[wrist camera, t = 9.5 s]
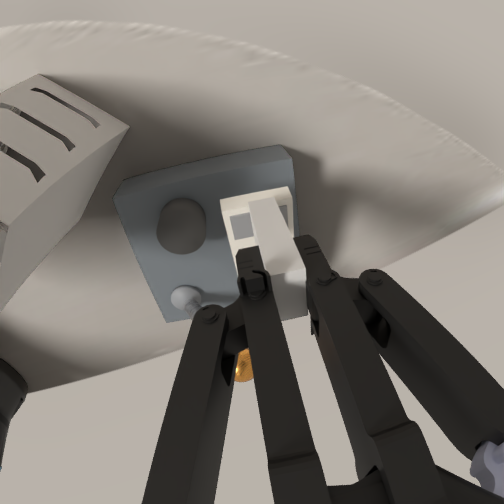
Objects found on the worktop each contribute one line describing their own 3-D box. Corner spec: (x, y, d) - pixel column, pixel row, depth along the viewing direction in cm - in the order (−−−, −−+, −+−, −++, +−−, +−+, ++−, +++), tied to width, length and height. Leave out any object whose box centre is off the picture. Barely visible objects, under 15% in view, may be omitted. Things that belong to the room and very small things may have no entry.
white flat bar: (243, 295, 28) (246, 308, 27) (219, 199, 20) (221, 213, 19) (291, 285, 28) (295, 297, 27) (287, 186, 20) (293, 198, 19)
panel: (168, 296, 34) (165, 338, 29) (123, 179, 25) (105, 211, 20) (294, 270, 34) (309, 310, 29) (280, 144, 26) (299, 167, 21)
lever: (180, 318, 28) (239, 394, 21) (171, 298, 27) (232, 376, 19) (203, 305, 29) (268, 375, 22) (196, 285, 28) (264, 355, 20)
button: (167, 243, 25) (164, 258, 23) (154, 204, 23) (149, 217, 21) (210, 233, 25) (211, 249, 23) (199, 193, 23) (199, 206, 21)
